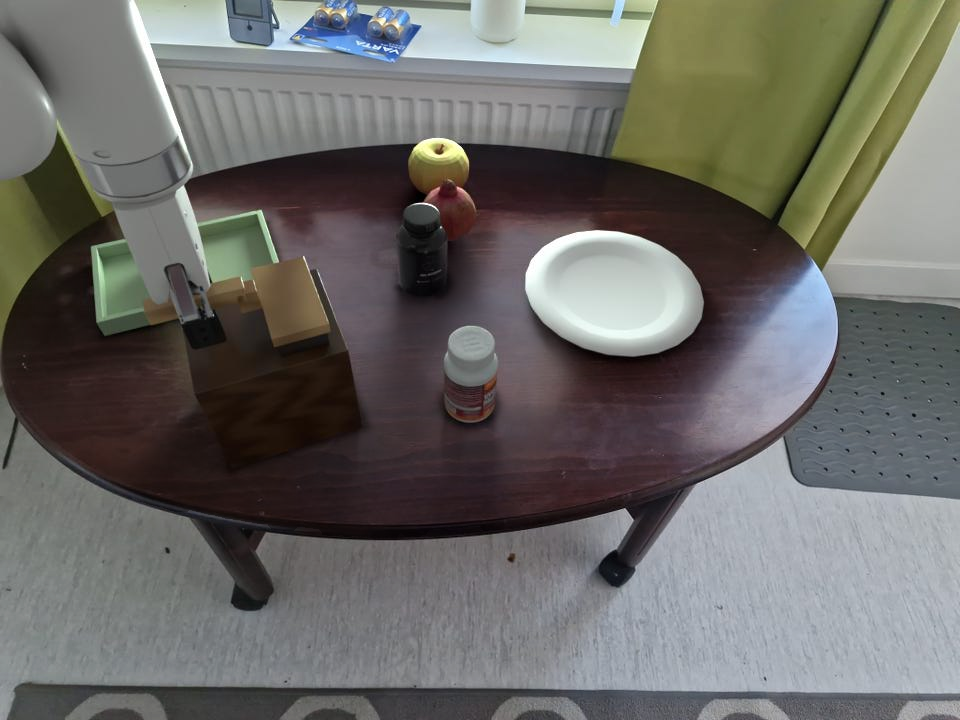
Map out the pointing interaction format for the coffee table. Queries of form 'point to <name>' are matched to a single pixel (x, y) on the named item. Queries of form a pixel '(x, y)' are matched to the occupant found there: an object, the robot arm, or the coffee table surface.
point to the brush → (268, 304)
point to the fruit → (453, 209)
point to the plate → (614, 293)
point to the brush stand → (272, 387)
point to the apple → (437, 164)
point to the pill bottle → (470, 374)
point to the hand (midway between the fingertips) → (203, 317)
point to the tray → (226, 253)
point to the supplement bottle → (422, 251)
